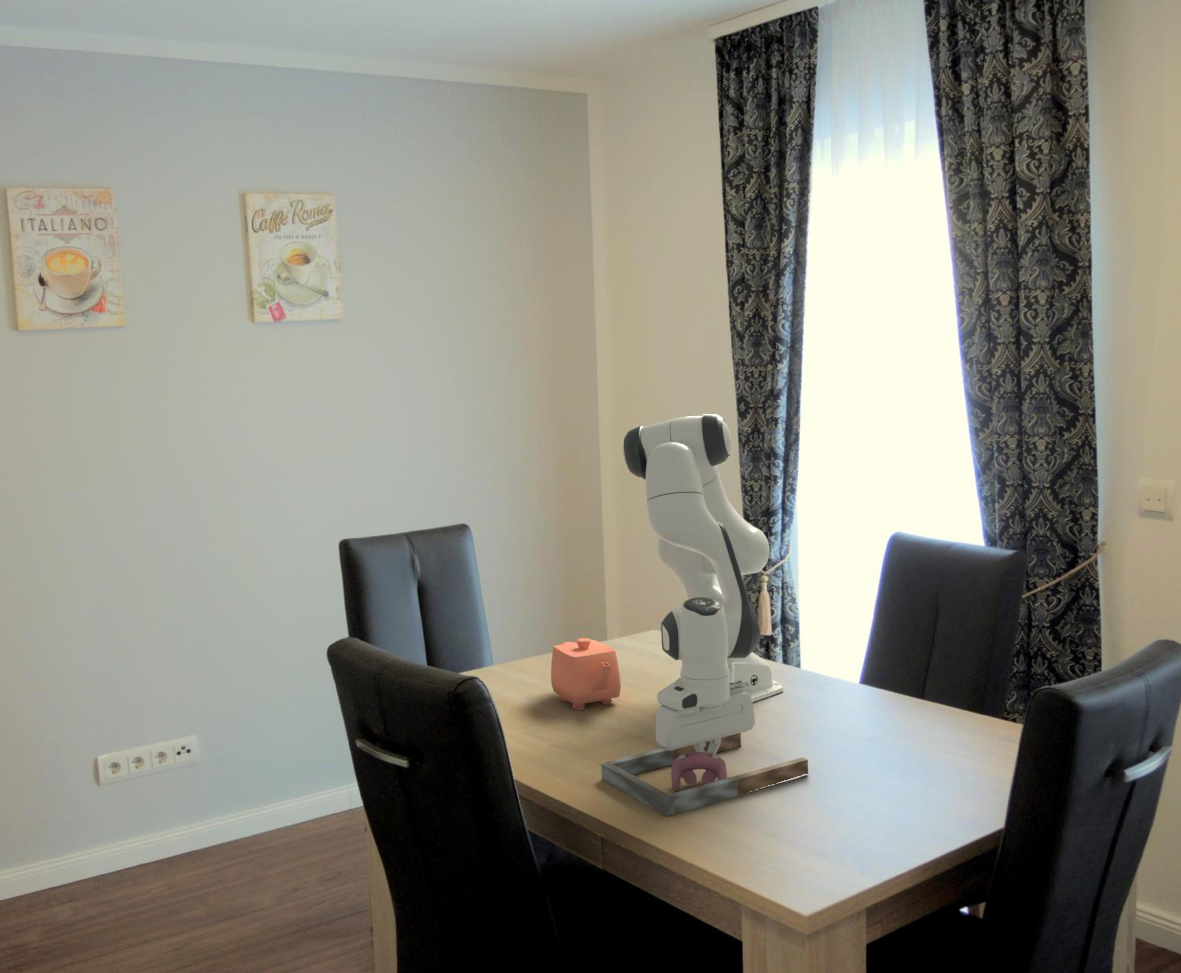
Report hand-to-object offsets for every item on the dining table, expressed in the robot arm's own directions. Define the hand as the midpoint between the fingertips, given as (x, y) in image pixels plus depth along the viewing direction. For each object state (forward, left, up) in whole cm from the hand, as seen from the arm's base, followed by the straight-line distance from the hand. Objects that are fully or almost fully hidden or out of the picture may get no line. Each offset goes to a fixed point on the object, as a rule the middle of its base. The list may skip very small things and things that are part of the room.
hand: (707, 762), depth 210 cm
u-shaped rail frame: (+1, 0, -3) cm, 3 cm away
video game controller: (+4, +3, -3) cm, 6 cm away
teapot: (-6, -53, -3) cm, 54 cm away
